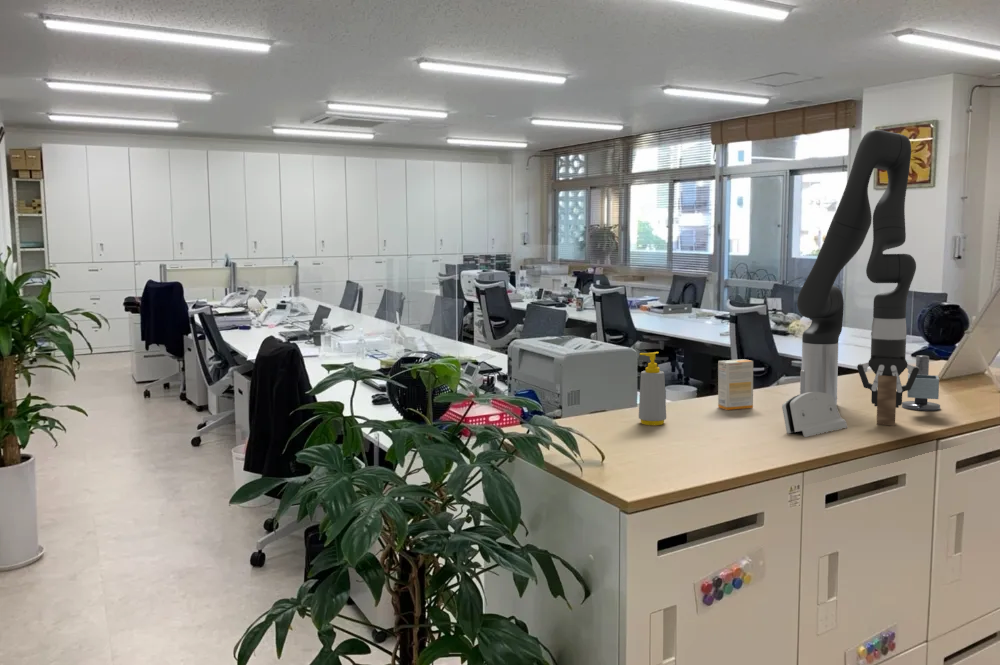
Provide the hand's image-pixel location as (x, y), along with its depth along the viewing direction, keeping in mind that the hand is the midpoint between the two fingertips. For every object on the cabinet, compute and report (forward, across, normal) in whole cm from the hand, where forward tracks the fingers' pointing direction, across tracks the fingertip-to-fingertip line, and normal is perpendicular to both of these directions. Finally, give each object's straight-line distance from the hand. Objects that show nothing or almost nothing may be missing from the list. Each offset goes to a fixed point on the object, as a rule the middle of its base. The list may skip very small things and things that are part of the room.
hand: (886, 406), depth 186 cm
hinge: (+5, +15, +14) cm, 21 cm away
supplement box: (+5, +37, -6) cm, 38 cm away
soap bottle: (+5, +52, +22) cm, 57 cm away
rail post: (+4, 0, 0) cm, 4 cm away
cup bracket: (+4, -8, -20) cm, 22 cm away
